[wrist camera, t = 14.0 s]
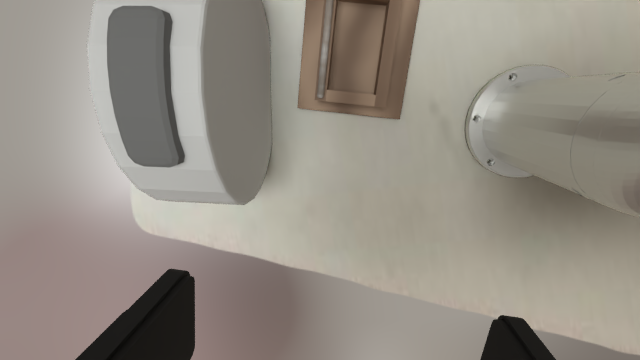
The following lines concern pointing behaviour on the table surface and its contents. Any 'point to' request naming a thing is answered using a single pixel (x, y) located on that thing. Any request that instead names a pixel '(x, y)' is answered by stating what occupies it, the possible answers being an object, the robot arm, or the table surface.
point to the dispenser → (356, 55)
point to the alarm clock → (184, 95)
